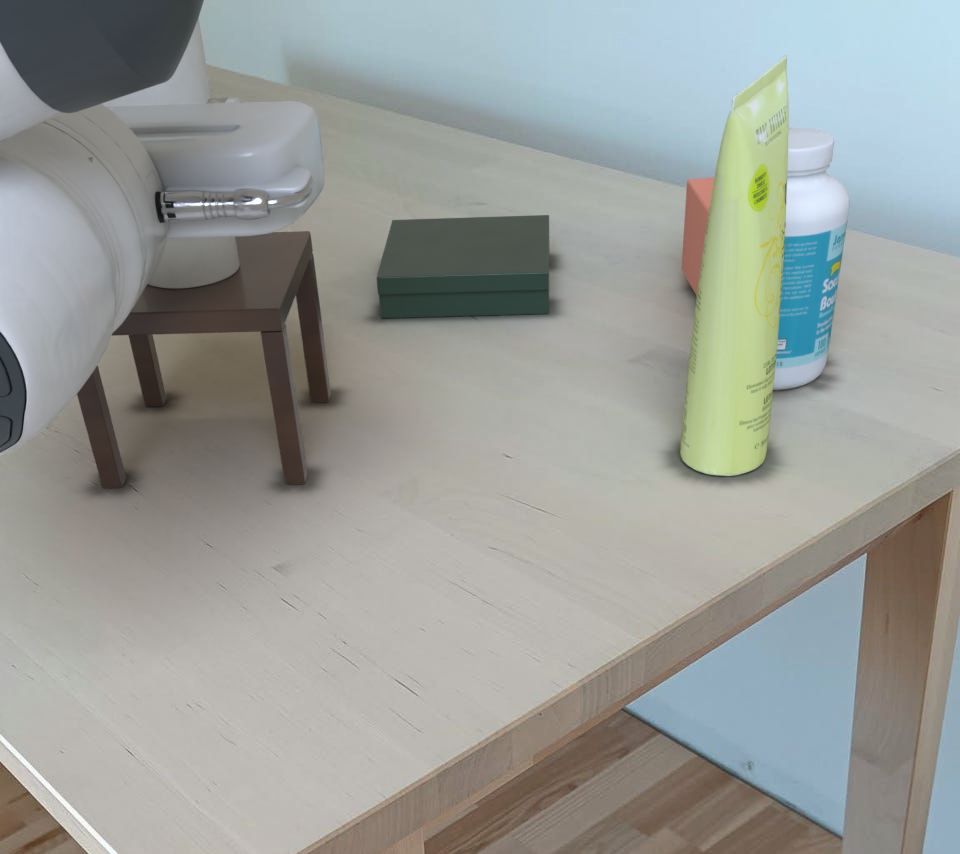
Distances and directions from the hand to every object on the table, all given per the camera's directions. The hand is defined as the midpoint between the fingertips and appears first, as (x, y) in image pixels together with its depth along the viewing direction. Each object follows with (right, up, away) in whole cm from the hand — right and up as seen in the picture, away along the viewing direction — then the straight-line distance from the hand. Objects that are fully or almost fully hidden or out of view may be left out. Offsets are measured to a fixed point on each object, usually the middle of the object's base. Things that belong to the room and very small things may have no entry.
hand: (132, 119), depth 62 cm
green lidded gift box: (+16, +6, +33) cm, 37 cm away
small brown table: (+1, -10, +16) cm, 19 cm away
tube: (+31, -13, +12) cm, 36 cm away
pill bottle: (+35, -5, +20) cm, 41 cm away
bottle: (+1, -3, +9) cm, 10 cm away
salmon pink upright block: (+36, +3, +29) cm, 46 cm away
